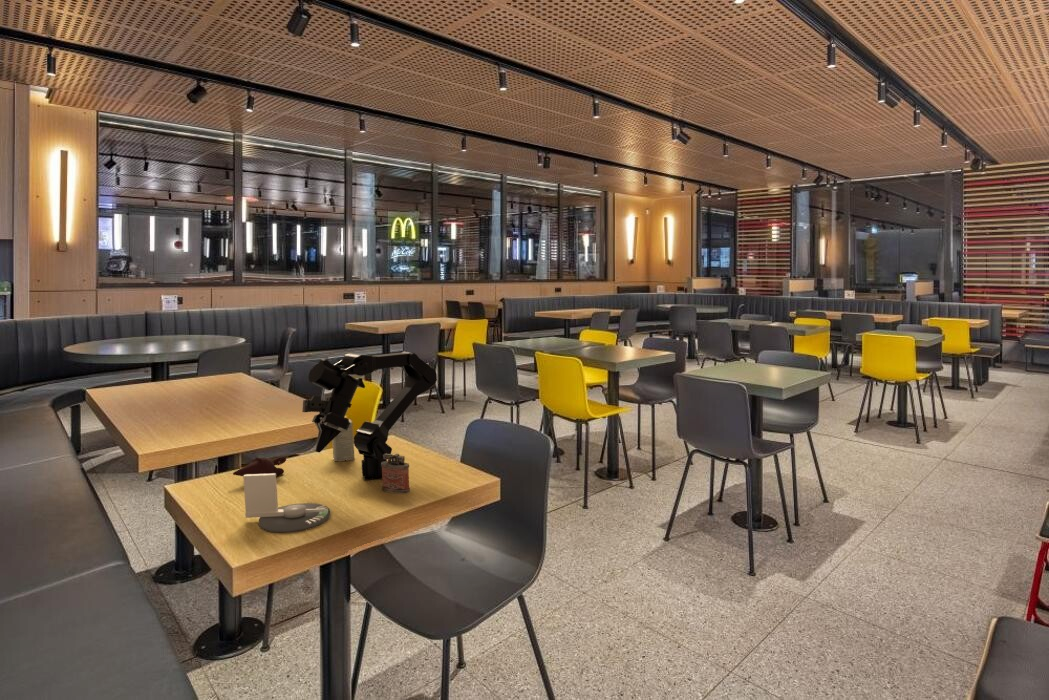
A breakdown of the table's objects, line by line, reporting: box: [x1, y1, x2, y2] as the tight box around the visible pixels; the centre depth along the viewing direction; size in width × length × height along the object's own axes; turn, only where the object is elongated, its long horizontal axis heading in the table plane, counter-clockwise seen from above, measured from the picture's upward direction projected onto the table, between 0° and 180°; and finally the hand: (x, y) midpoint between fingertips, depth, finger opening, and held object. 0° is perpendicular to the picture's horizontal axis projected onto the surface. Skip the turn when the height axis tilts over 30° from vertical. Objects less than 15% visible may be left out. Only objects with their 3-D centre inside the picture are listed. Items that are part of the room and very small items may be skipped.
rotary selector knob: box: [242, 473, 325, 519], centre depth 146 cm, size 18×5×10 cm, turn 96°
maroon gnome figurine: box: [232, 455, 287, 477], centre depth 174 cm, size 7×7×15 cm
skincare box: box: [331, 418, 356, 462], centre depth 193 cm, size 6×4×12 cm
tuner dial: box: [258, 502, 331, 534], centre depth 147 cm, size 16×16×1 cm
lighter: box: [381, 453, 411, 494], centre depth 165 cm, size 8×3×10 cm, turn 71°
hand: (317, 452), depth 162 cm, fingers closed
